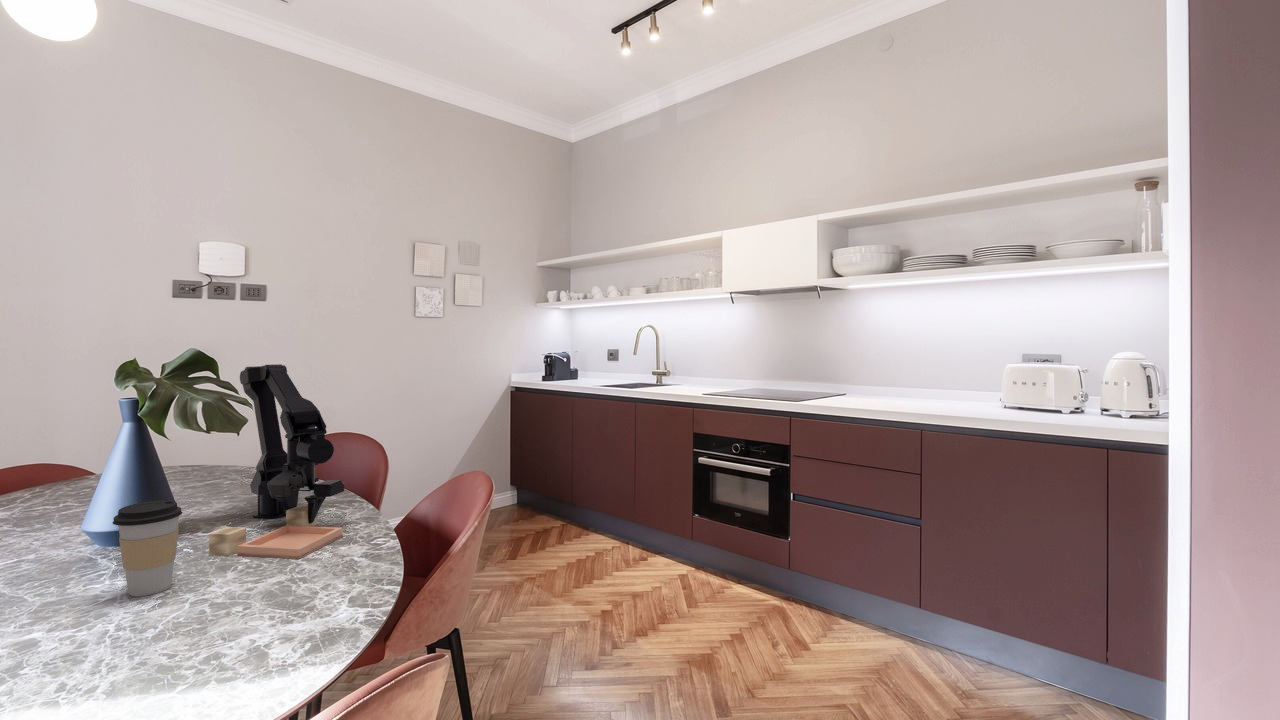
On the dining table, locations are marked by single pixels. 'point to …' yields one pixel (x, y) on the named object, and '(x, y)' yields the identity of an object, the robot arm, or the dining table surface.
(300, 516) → the block
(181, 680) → the dining table surface
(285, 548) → the tray
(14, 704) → the dining table surface
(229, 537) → the block
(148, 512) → the coffee cup
